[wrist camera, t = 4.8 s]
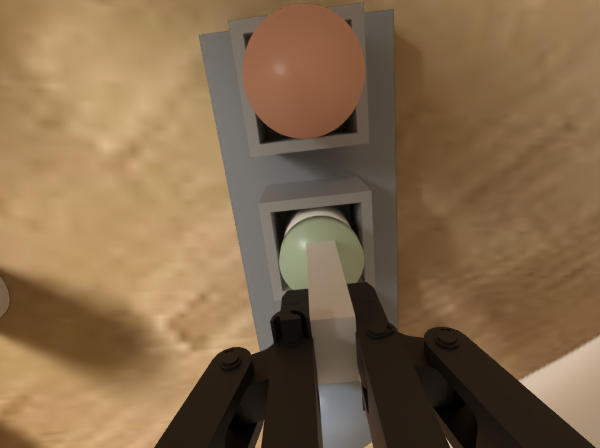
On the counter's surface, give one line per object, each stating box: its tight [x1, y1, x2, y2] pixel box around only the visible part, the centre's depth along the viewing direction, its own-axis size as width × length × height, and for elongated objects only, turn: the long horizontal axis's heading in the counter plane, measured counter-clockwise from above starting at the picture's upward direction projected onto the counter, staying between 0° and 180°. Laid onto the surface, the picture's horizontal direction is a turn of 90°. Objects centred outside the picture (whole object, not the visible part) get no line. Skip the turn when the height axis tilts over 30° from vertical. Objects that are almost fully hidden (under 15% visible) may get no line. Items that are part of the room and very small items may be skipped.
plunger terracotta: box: [242, 3, 365, 139], centre depth 15 cm, size 5×5×6 cm
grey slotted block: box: [199, 2, 398, 352], centre depth 22 cm, size 26×12×8 cm, turn 7°
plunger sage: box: [279, 205, 364, 290], centre depth 20 cm, size 5×5×6 cm
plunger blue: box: [318, 375, 372, 448], centre depth 21 cm, size 5×5×6 cm
